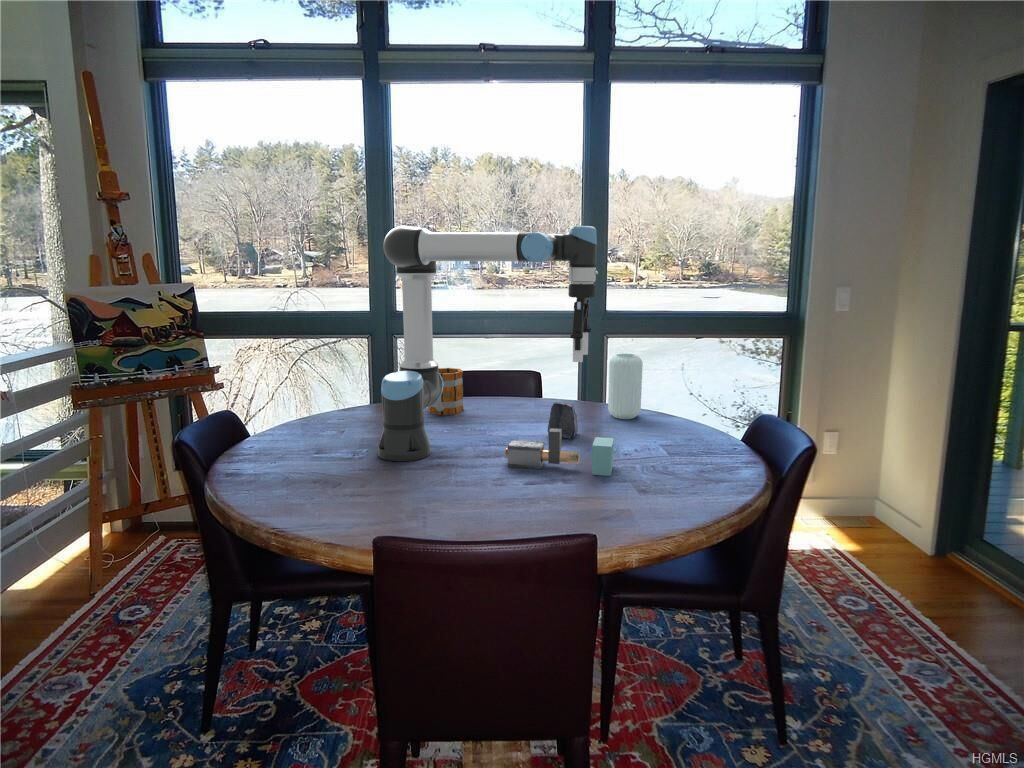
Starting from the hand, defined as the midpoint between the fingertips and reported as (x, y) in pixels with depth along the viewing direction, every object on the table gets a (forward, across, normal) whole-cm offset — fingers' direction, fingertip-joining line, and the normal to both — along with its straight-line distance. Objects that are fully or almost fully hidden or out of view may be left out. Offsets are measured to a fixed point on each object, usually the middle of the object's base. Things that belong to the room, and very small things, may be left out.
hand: (580, 358), depth 186 cm
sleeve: (+28, -15, +13) cm, 34 cm away
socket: (+28, -15, -8) cm, 33 cm away
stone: (+28, +18, +7) cm, 34 cm away
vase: (+28, +46, -11) cm, 55 cm away
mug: (+28, +37, +54) cm, 71 cm away
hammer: (+26, -15, +8) cm, 32 cm away
